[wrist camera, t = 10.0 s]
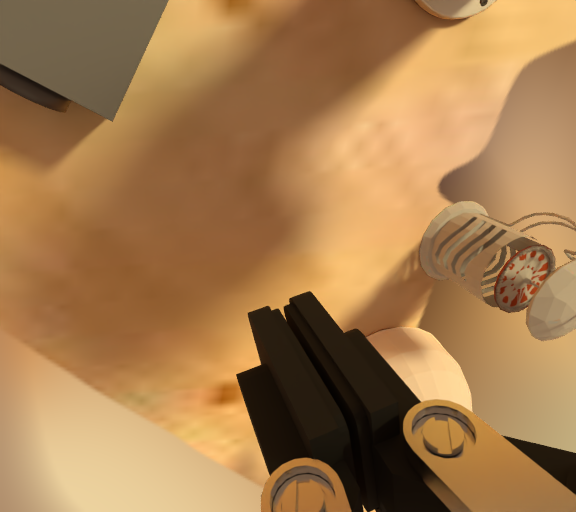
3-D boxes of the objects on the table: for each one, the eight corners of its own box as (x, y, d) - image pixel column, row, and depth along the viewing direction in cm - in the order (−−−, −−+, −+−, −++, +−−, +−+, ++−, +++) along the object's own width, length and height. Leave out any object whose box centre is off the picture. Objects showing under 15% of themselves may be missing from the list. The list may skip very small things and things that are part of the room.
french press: (403, 255, 45) (653, 427, 24) (473, 169, 44) (805, 271, 22) (449, 293, 50) (690, 463, 29) (513, 217, 49) (817, 337, 27)
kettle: (378, 465, 60) (466, 603, 44) (273, 428, 49) (341, 594, 34) (470, 360, 57) (597, 469, 42) (380, 298, 47) (506, 413, 31)
